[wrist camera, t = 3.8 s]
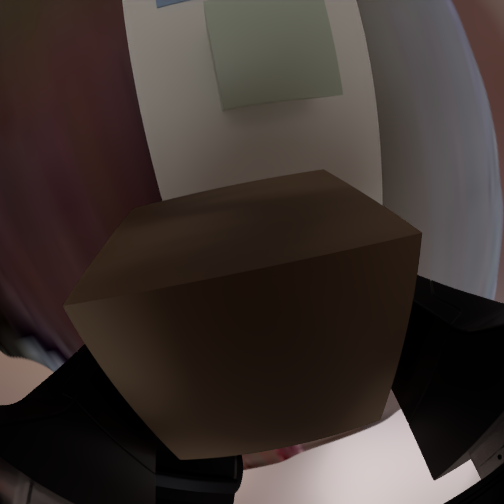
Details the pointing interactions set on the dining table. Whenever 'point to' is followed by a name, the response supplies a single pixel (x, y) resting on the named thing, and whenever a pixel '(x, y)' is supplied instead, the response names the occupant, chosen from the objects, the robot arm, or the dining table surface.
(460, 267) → the dining table surface
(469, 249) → the dining table surface
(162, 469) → the robot arm
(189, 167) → the build board
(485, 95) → the dining table surface
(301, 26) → the sage block
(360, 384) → the walnut block
